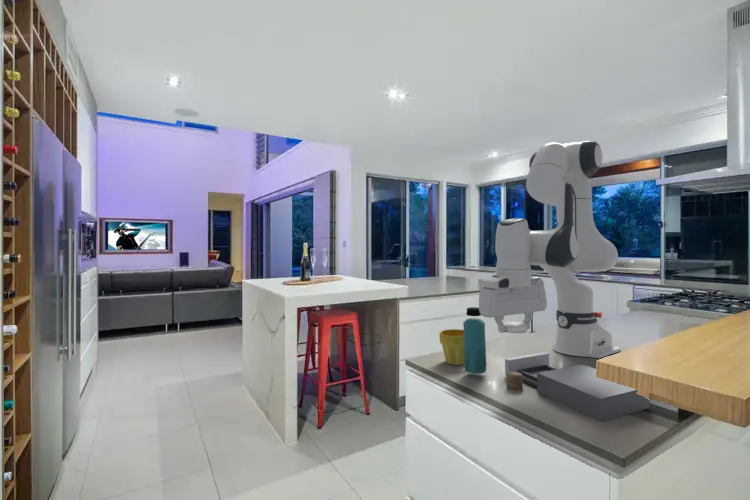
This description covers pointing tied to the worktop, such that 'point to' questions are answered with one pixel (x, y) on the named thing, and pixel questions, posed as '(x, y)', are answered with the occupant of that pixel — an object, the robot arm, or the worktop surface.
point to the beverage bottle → (474, 343)
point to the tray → (529, 366)
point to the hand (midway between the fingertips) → (514, 330)
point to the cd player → (590, 392)
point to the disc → (516, 327)
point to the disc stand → (514, 381)
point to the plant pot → (453, 345)
